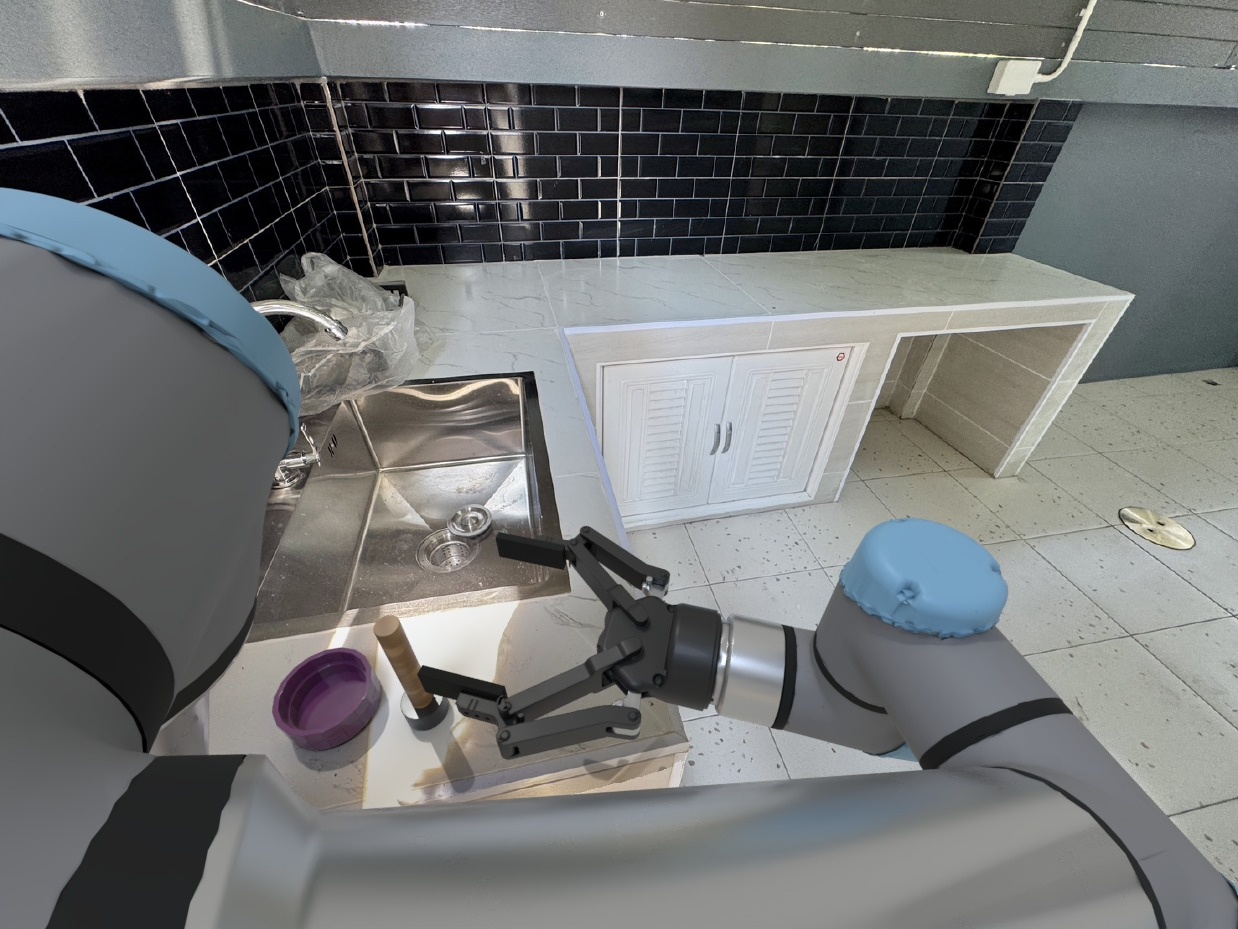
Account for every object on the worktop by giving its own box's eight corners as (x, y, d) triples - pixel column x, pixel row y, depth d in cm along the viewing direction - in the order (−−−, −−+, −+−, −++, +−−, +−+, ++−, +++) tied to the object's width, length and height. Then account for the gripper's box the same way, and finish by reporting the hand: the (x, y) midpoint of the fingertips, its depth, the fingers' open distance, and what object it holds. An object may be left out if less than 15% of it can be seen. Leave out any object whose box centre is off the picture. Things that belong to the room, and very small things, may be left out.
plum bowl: (304, 773, 55) (287, 757, 52) (277, 702, 61) (261, 683, 58) (395, 711, 60) (385, 693, 57) (363, 650, 66) (352, 631, 63)
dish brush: (417, 740, 58) (370, 658, 46) (400, 708, 60) (352, 623, 49) (455, 712, 60) (420, 627, 49) (437, 682, 63) (400, 596, 51)
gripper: (691, 869, 32) (394, 779, 36) (722, 567, 51) (525, 528, 54) (707, 834, 27) (361, 735, 31) (735, 515, 46) (517, 476, 50)
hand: (465, 603), depth 43 cm, fingers open, 13 cm apart
